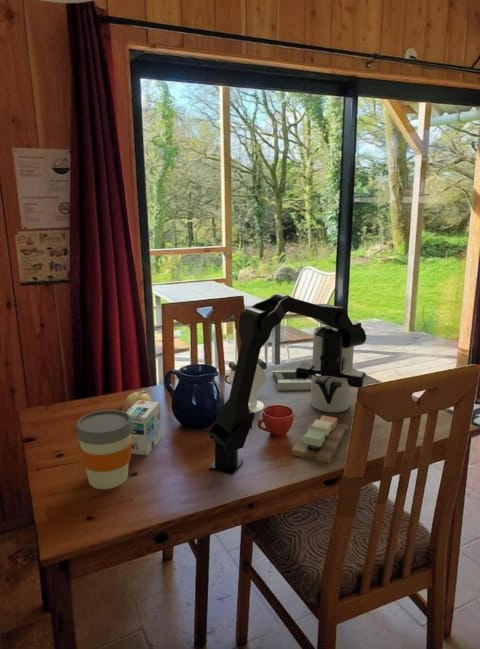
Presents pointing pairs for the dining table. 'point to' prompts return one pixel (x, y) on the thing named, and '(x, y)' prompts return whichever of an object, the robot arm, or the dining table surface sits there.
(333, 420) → the salmon tan cube
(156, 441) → the light bulb box
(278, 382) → the light grey tray
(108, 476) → the reusable coffee cup
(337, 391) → the cylinder vase
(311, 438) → the pale green cube
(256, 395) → the panda figurine
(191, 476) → the dining table surface
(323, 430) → the white cube
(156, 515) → the dining table surface
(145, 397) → the onion
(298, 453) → the walnut panel
